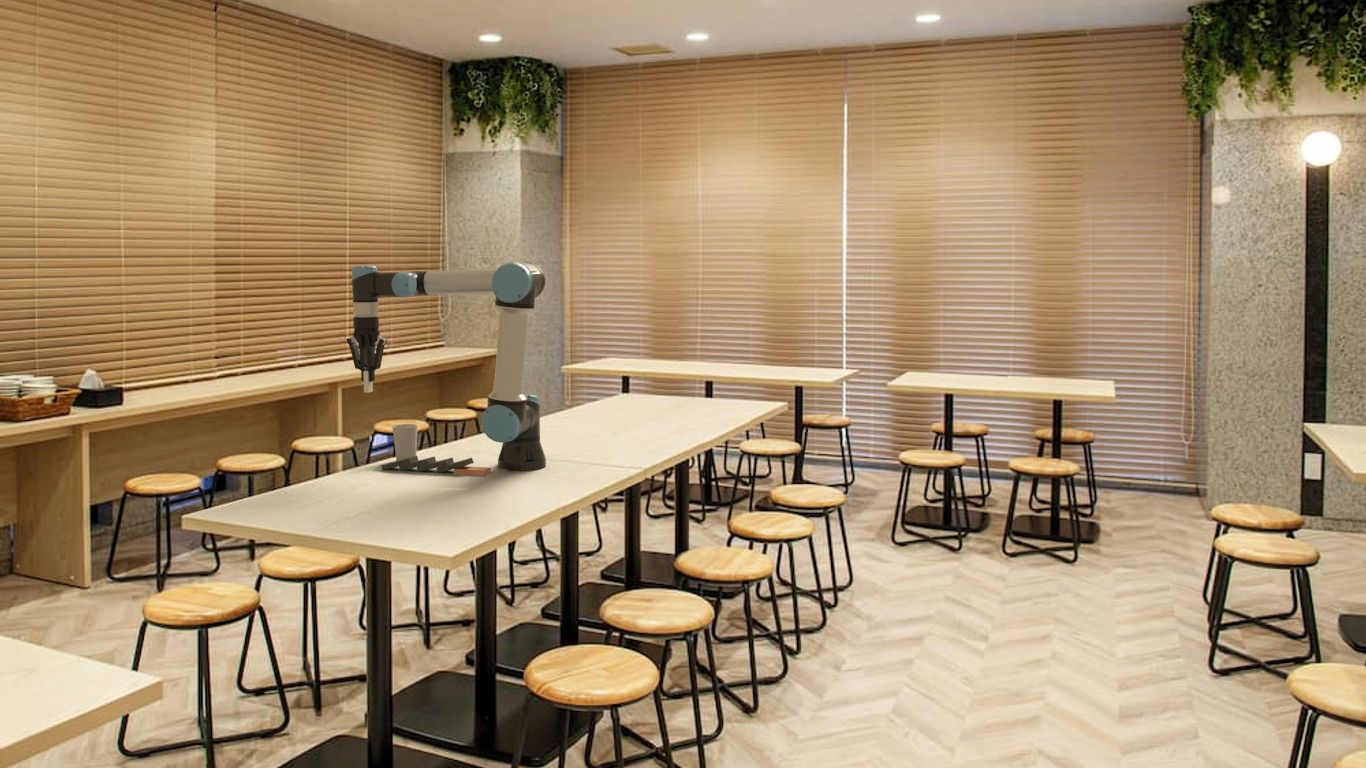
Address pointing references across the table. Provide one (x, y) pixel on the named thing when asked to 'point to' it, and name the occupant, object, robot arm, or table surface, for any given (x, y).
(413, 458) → the domino
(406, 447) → the cup
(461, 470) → the domino
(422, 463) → the domino
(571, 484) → the table surface
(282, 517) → the table surface
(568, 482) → the table surface
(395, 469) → the runner
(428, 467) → the domino
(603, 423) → the table surface
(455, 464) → the domino
